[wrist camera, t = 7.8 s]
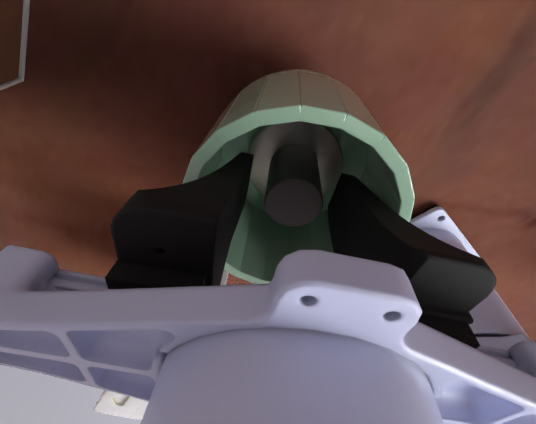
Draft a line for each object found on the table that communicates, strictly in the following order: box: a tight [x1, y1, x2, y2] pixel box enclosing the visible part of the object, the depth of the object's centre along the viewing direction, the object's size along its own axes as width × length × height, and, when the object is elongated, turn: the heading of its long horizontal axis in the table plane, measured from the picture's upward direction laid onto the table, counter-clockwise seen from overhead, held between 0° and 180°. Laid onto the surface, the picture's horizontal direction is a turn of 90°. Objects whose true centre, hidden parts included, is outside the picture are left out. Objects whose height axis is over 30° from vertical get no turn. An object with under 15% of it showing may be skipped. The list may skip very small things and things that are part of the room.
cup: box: [182, 69, 415, 284], centre depth 13 cm, size 9×9×6 cm
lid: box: [248, 121, 343, 227], centre depth 13 cm, size 5×5×4 cm
